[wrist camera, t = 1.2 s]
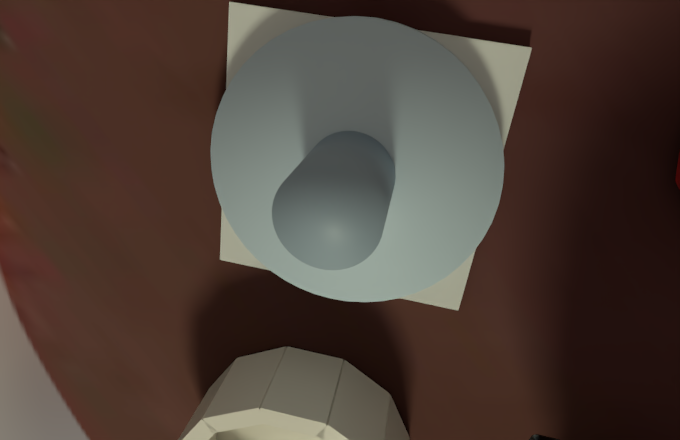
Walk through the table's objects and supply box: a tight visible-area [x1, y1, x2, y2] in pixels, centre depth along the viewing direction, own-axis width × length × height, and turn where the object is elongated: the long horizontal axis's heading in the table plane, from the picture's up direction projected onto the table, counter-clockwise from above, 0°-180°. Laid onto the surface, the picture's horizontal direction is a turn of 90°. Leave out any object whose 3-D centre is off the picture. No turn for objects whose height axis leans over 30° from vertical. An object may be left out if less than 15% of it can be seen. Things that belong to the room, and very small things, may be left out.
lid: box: [211, 16, 504, 302], centre depth 16 cm, size 10×10×5 cm
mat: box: [220, 2, 532, 310], centre depth 18 cm, size 10×10×1 cm
